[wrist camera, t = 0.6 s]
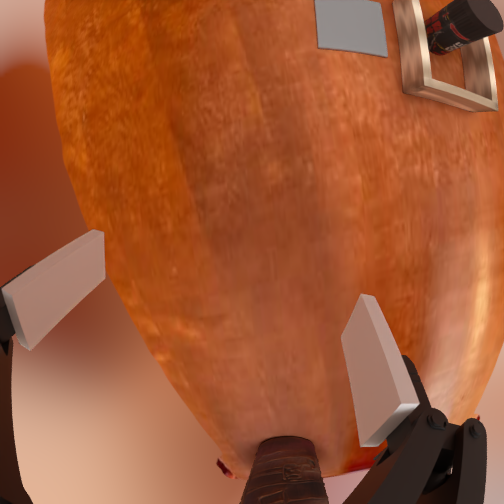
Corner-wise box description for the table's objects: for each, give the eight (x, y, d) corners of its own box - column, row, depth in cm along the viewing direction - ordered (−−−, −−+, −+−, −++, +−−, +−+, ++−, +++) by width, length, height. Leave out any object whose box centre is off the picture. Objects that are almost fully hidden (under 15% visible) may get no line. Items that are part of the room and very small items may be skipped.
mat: (313, -5, 26) (313, -7, 25) (379, 4, 25) (380, 3, 24) (318, 48, 29) (318, 47, 29) (386, 57, 28) (387, 56, 28)
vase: (338, 452, 62) (341, 539, 35) (271, 466, 69) (262, 544, 41) (309, 420, 56) (308, 533, 29) (232, 437, 63) (212, 532, 35)
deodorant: (436, 21, 23) (484, -10, 10) (454, 52, 25) (510, 31, 11) (411, 25, 25) (457, -11, 11) (430, 58, 27) (486, 33, 13)
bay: (392, 3, 24) (407, -16, 17) (461, 27, 22) (482, 16, 16) (403, 93, 30) (424, 85, 24) (472, 112, 28) (498, 111, 22)
